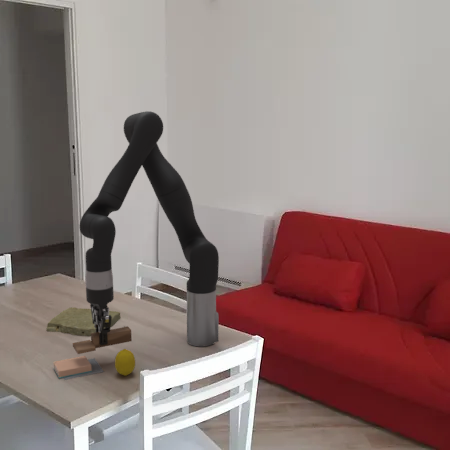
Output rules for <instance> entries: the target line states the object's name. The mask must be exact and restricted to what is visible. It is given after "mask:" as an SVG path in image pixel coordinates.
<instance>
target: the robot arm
mask: <svg viewBox="0 0 450 450" xmlns="http://www.w3.org/2000/svg"><path fill="white" fill-rule="evenodd" d="M123 133H124V136H125V138H126V140H127V142H128V145H127V148H126V150H125V151H124V152H123V155H122V156H121V157H120V159H119V160H118V161H117V162H116V164H115V165H114V166H113V167H112V169H111V170H110V172H109V174H108V175H107V177H106V178H105V180H104V182H103V184H102V186H101V189H100V191H99V193H98V195H97V197H96V198H95V199H94V200H93V201H92V202H91V204H90V205H89V207H88V208H87V209H86V210H85V212H84V213H83V215H82V216H81V218H80V221H79V232H80V233H81V235H82V237H85V238H87V239H90V240H92V241H93V242H92V243H93V244H92V247H91V248H90V247H89V248H88V249H87V250H86V251H85V294H86V296H85V297H86V302H87V303H89V307H90V309H91V313H92V320H93V324H94V327H95V328H96V332H99V344H100V345H101V346H102V345H107V344H108V338H107V332H110V330H111V328H112V327H111V319H112V316H111V315H109V311H110V308H109V307H108V304H110V303H111V302H113V301H114V298H115V297H114V275H113V269H112V267H113V266H112V264H113V263H112V252H113V249H114V245H115V238H116V233H117V232H116V226H115V223H114V222H115V221H114V220H113V219H112V218H111V217H109V215H110V214H111V213H113V212H117V211H119V210H121V207H122V206H123V203H124V201H125V199H126V197H127V195H128V194H129V191H130V189H131V186H132V184H134V183H133V182H134V180H135V178H136V177H137V174H138V173H139V171H140V170H141V168H142V169H143V170H144V172H145V174H146V176H147V179H148V180H149V182H150V185H151V187H152V189H153V192H154V193H155V196H156V198H157V201H158V202H159V205H160V207H161V208H162V210H163V212H164V214H165V215H166V218H167V219H168V221H169V222H170V224H171V226H172V228H173V229H174V231H175V233H176V236H177V238H178V239H177V240H178V241H179V244H180V248H181V250H182V253H183V256H184V258H185V260H186V262H187V263H188V264H189V277H188V280H187V281H186V342H187V343H188V344H189V345H191V346H193V347H208V346H212V345H213V344H215V343H217V342H219V312H218V311H217V284H218V281H219V268H220V267H219V264H220V263H219V261H220V260H219V259H220V257H219V251H218V248H217V247H216V246H215V244H213V242H211V241H209V240H208V239H207V238H206V236H205V234H204V233H203V231H202V229H201V228H200V226H199V224H198V221H197V219H196V216H195V210H194V206H193V201H192V197H191V195H190V192H189V190H188V188H187V186H186V184H185V181H184V180H183V178H182V176H181V175H180V174H179V172H178V171H177V169H176V168H175V167H174V166H173V165H172V164H171V163H170V162H169V161H168V160H167V159H166V158H165V156H164V155H163V153H162V151H161V149H160V148H159V145H158V142H159V140H160V138H161V137H162V135H163V133H164V122H163V120H162V118H161V117H160V116H159V114H157V113H156V112H154V111H147V110H146V111H140V112H137V113H134V114H131V115H129V116H127V118H126V119H125V120H124V123H123ZM104 327H105V328H104ZM110 327H111V328H110Z"/></svg>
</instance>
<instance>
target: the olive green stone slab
mask: <svg viewBox="0 0 450 450" xmlns="http://www.w3.org/2000/svg"><path fill="white" fill-rule="evenodd" d="M109 315H111V316H112V319H111V327H110V329H111V328H112V327H113V326H114V325H115V324H117V322H119V320H120V319H122V318H121V312H120V311H114V310H109ZM104 328H105V327H104ZM45 330H46V331H47V332H50V333H51V332H52V333H62V334H69V335H72V336H79V337H80V336H82V337H91V333H95V332H96V328H95V327H94V324H93V320H92V313H91V308H80V307H79V308H78V307H73V306H72V307H68V308H66V309H65V310H63V311H62V312H60V313H59V314H57V315H56V316H54V317H52V319H50V320H49V321H48V322H47V324H46V329H45Z"/></svg>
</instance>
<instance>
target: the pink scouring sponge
mask: <svg viewBox="0 0 450 450" xmlns="http://www.w3.org/2000/svg"><path fill="white" fill-rule="evenodd" d="M88 359H89V358H87V357H86V355H82V356H77V357H72V358H71V357H70V358H65V359H60V360H56V361H55V360H54V361H53V370H54V372H55V374H56V375H57V377H58V379H62V378H63V379H64V377H69V376H73V375H78V374H83V373H88V372H92V368H91V364H90V362H89V361H88Z"/></svg>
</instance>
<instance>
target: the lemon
mask: <svg viewBox="0 0 450 450" xmlns="http://www.w3.org/2000/svg"><path fill="white" fill-rule="evenodd" d="M114 367H115V371H116V372H117V373H118V374H120V375H123V376H124V377H127V376H128V375H130V374H131V373H133V372H134V370H135V367H136V359H135V355H134V353H133V352H132V351H131V350H129V349H126V348H123V349H122V350H120V351H119V352H117V354H116V356H115V359H114Z"/></svg>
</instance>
